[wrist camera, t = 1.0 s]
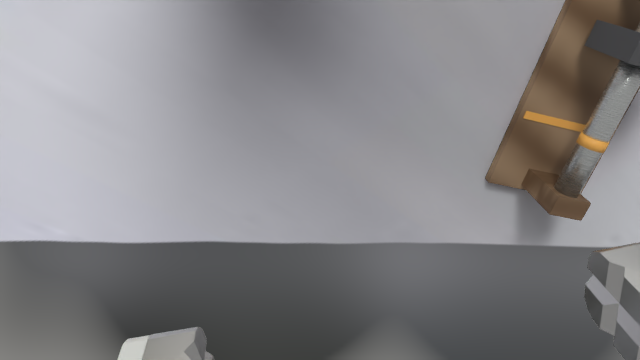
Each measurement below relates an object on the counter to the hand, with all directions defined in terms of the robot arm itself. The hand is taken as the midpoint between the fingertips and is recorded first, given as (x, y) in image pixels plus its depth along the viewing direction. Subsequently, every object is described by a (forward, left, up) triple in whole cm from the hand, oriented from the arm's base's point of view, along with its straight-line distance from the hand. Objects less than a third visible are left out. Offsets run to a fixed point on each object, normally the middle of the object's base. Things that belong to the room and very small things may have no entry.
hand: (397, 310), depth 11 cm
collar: (-5, +30, -37) cm, 47 cm away
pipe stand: (0, +30, -39) cm, 49 cm away
